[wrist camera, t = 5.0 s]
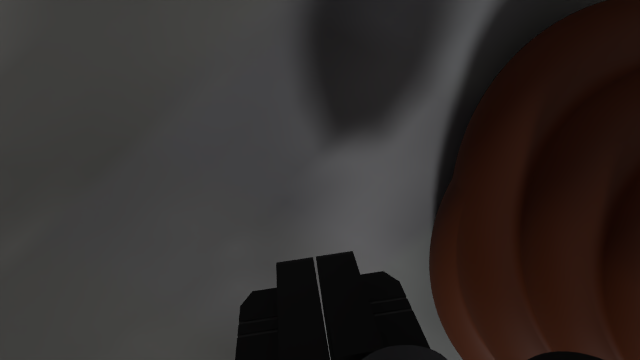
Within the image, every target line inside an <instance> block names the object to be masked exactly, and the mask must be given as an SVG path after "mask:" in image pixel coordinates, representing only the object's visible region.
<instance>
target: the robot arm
mask: <svg viewBox="0 0 640 360" xmlns="http://www.w3.org/2000/svg"><path fill="white" fill-rule="evenodd" d="M316 260H317V268H318V275H319V282H320V289H321V296H322V303H323V310H324V317H325V324H326V331H327V338H328V345H329V351H330V357H331V360H447V359H446V358H445V357H444V356H443V355H442V354H440V353H438V352H436V351H434V350H432V349H430V347H429V345H428V342H427V340H426V338H425V336H424V334H423V332H422V329H421V327H420V325H419V323H418V321H417V319H416V316H415V314H414V312H413V311H412V309H411V306H410V303H409V301H408V299H406V295H405V293H404V290H403V288H402V286H401V284H400V282H399V281H398V280H396V279H395V278H393V277H391V276H390V275H388V274H387V273H385V272H384V271H382V272H375V273H369V274H362V275H360V272H359V269H358V266H357V263H356V260H355V257H354V254H353V251H350V252H343V253H337V254H330V255H323V256H317V257H316ZM276 270H277V288H271V289H265V290H258V291H252V293H251V294H250V295H249V296H248V298H247V299H246V300H245V301H244V302H243V304H242V305H241V306H240V315H239V325H238V338H237V346H236V356H235V360H330V357H329V351H328V345H327V339H326V333H325V327H324V321H323V315H322V309H321V303H320V297H319V291H318V285H317V279H316V273H315V267H314V261H313V257H311V258H304V259H298V260H291V261H284V262H278V263H276ZM528 360H603V359H601V358H598V357H595V356H591V355H588V354H583V353H578V352H569V351H556V352H548V353H543V354H539V355H536V356H534V357H532V358H530V359H528Z"/></svg>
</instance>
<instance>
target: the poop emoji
mask: <svg viewBox="0 0 640 360" xmlns="http://www.w3.org/2000/svg"><path fill="white" fill-rule="evenodd" d="M429 270H430V282H431V288H432V294H433V298H434V302H435V306H436V309H437V313H438V315H439V318H440V321H441V323H442V325H443V327H444V330H445V332H446V334H447V336H448V338H449V339H450V341H451V343H452V344H453V346H454V347H455V349H456V350H457V352H458V353H459V355H460V356H461V357H462V359H463V360H528V359H530V358H532V357H534V356H536V355H539V354H543V353H548V352H556V351H569V352H578V353H583V354H588V355H591V356H595V357H598V358H601V359H603V360H640V0H607V1H603V2H600V3H597V4H594V5H592V6H589V7H586V8H584V9H582V10H579V11H577V12H575V13H573V14H571V15H569V16H567V17H565V18H564V19H562V20H560V21H558V22H557V23H555V24H553V25H552V26H550V27H549V28H547V29H546V30H544V31H543V32H541V33H540V34H539V35H537V36H536V37H535V38H534V39H532V40H531V41H530V42H529V43H528V44H526V45H525V46H524V47H523V48H522V49H521V50H520V51H519V52H518V53H517V54H516V55H515V56H514V57H513V58H512V59H511V60H510V61H509V62H508V63H507V64H506V65H505V67H504V68H503V69H502V70H501V71H500V73H499V74H498V75H497V76H496V78H495V79H494V80H493V82H492V83H491V85H490V86H489V87H488V89H487V91H486V92H485V94H484V95H483V97H482V99H481V100H480V102H479V104H478V106H477V107H476V109H475V111H474V113H473V115H472V117H471V120H470V122H469V124H468V126H467V129H466V131H465V134H464V137H463V140H462V142H461V145H460V149H459V152H458V156H457V160H456V164H455V168H454V173H453V177H452V180H451V182H450V183H449V185H448V187H447V190H446V192H445V194H444V196H443V198H442V201H441V203H440V206H439V209H438V212H437V215H436V219H435V222H434V227H433V231H432V237H431V244H430V257H429Z"/></svg>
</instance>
